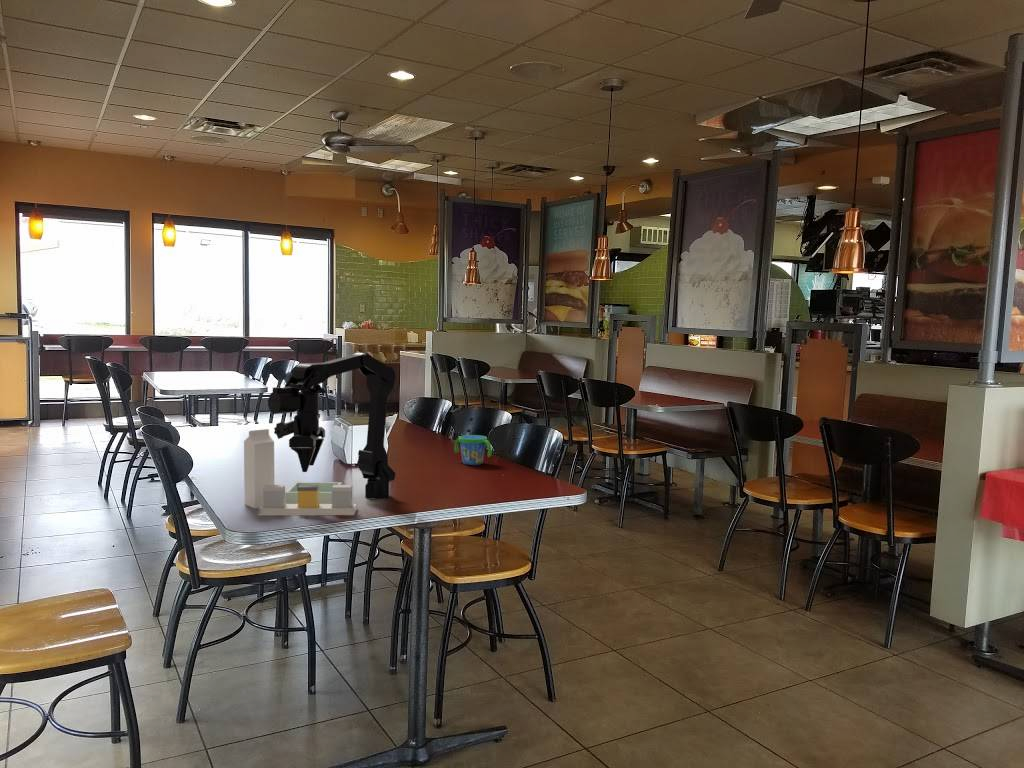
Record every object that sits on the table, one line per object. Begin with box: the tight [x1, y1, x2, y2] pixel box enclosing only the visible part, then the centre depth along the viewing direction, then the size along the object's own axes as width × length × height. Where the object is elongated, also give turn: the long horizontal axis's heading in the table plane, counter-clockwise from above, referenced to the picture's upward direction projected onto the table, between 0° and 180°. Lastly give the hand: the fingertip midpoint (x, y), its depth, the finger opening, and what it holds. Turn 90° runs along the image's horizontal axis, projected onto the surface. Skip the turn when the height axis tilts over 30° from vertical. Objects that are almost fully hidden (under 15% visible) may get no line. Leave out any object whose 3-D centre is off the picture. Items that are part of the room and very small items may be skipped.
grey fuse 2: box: [332, 484, 353, 508], centre depth 204 cm, size 5×3×7 cm, turn 94°
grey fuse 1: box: [263, 484, 286, 508], centre depth 203 cm, size 5×3×7 cm, turn 94°
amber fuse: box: [298, 485, 319, 508], centre depth 204 cm, size 5×3×7 cm, turn 94°
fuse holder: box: [257, 503, 358, 516], centre depth 204 cm, size 25×7×2 cm, turn 94°
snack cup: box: [453, 434, 493, 466], centre depth 282 cm, size 16×10×10 cm
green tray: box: [285, 481, 343, 504], centre depth 218 cm, size 14×14×4 cm
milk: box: [243, 428, 275, 509], centre depth 210 cm, size 6×6×22 cm
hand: (308, 468), depth 203 cm, fingers open, 9 cm apart
